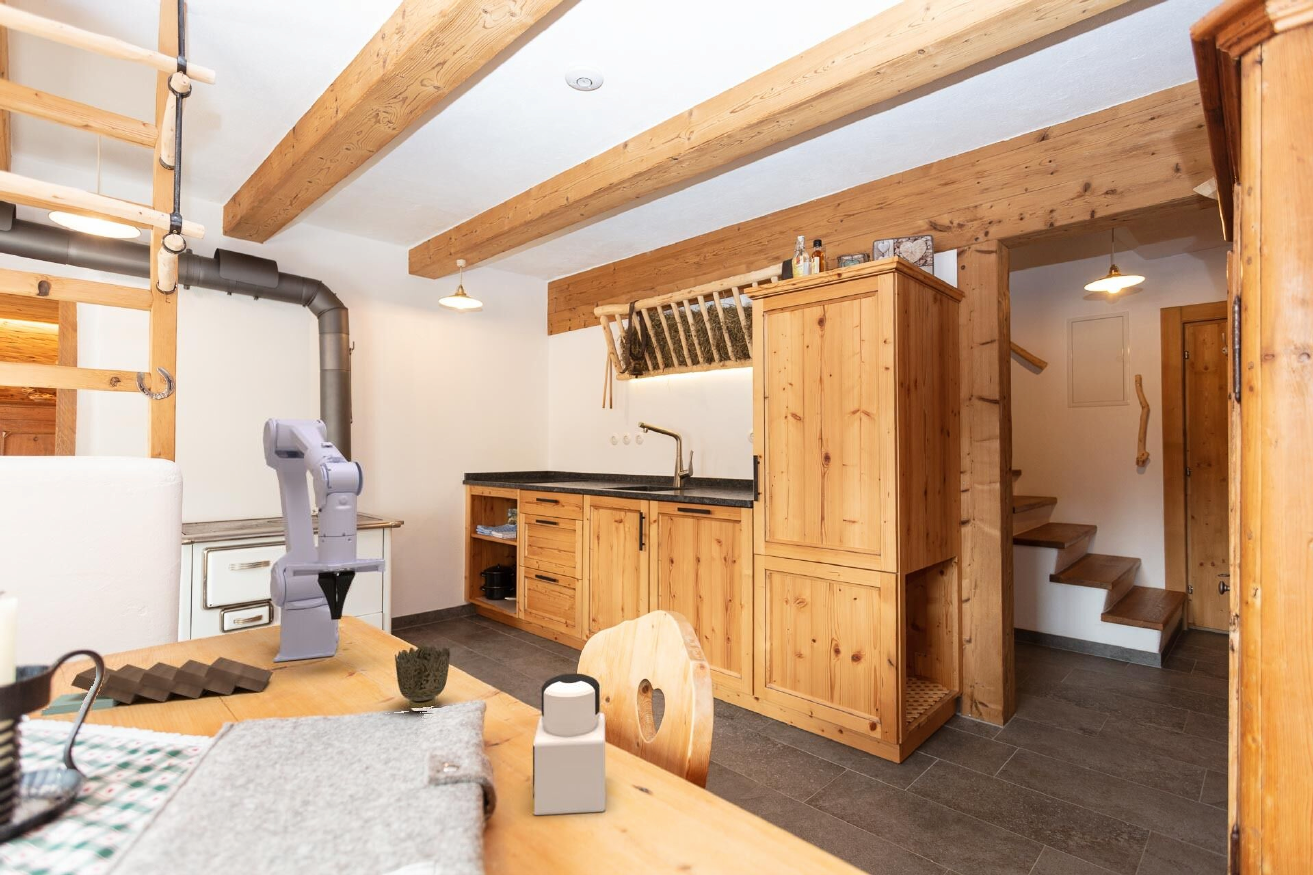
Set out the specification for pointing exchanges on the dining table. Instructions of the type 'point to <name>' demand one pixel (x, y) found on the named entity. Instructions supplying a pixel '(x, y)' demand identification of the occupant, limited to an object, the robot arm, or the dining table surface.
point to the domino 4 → (169, 681)
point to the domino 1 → (77, 704)
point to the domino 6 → (238, 674)
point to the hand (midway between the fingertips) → (336, 618)
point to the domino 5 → (201, 678)
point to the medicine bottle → (569, 748)
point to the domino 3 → (136, 683)
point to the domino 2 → (103, 686)
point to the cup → (422, 674)
